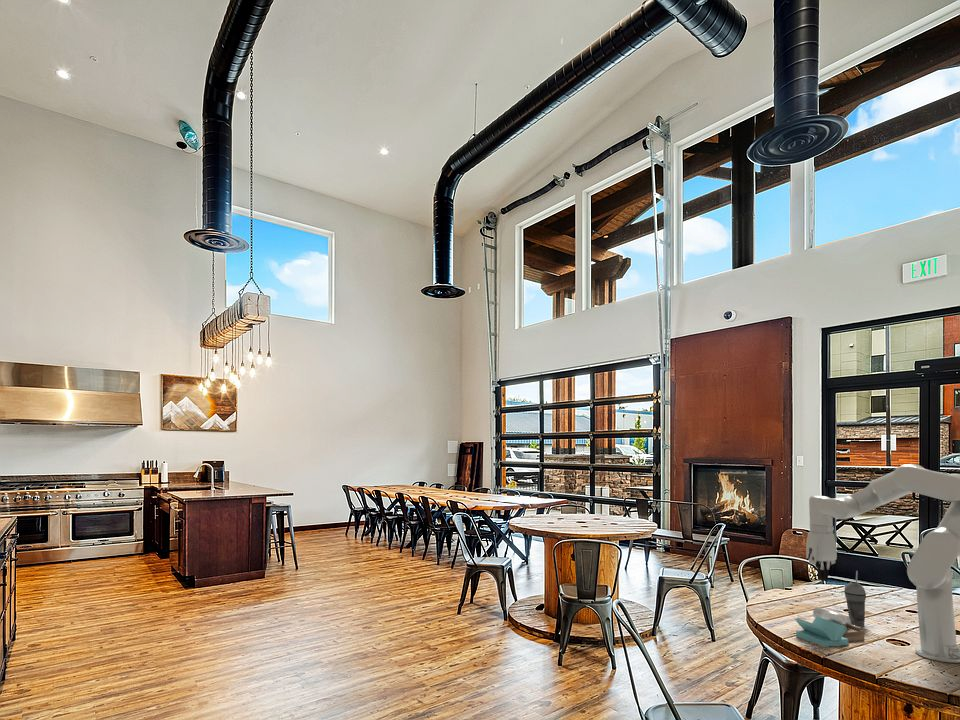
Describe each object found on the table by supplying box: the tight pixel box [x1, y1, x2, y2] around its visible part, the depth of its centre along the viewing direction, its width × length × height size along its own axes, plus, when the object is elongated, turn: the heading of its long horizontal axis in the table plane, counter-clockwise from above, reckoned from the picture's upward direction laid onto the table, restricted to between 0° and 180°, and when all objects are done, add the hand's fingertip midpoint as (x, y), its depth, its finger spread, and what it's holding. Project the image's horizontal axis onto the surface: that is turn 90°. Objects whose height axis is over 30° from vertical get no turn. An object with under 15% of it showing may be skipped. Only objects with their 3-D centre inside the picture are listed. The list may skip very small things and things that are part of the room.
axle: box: [812, 606, 851, 629], centre depth 218 cm, size 12×4×4 cm, turn 18°
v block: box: [795, 617, 850, 648], centre depth 208 cm, size 12×10×6 cm
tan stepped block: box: [842, 624, 865, 643], centre depth 213 cm, size 10×9×4 cm
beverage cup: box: [843, 570, 867, 627], centre depth 228 cm, size 7×7×20 cm
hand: (822, 580), depth 221 cm, fingers closed
